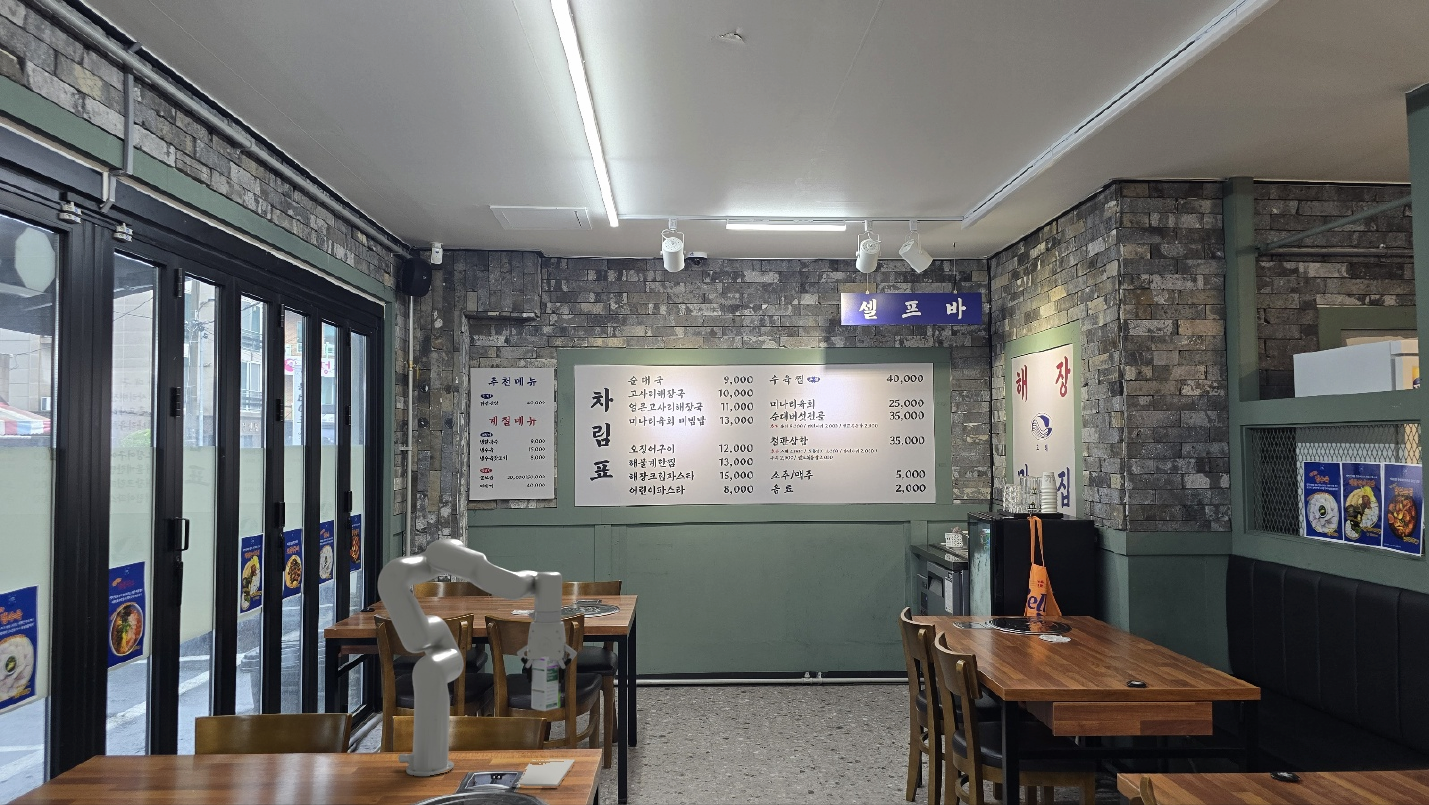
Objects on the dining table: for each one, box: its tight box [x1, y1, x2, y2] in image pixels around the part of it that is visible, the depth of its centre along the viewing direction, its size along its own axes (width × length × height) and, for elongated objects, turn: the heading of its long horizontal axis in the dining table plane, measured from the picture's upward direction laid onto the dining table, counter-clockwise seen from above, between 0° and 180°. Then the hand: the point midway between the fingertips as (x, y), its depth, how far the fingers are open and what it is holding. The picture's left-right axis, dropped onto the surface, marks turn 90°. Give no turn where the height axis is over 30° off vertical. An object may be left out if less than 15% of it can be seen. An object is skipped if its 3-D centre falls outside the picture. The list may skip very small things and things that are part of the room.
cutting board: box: [515, 758, 576, 786], centre depth 241 cm, size 12×22×1 cm, turn 177°
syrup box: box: [530, 656, 561, 712], centre depth 243 cm, size 6×6×14 cm
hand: (546, 682), depth 243 cm, fingers closed on syrup box, 7 cm apart
